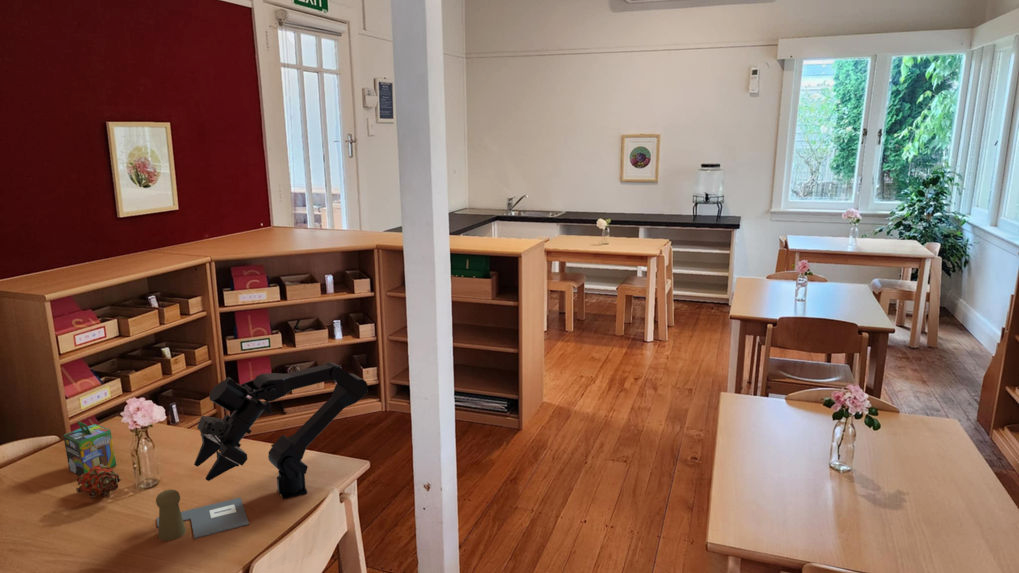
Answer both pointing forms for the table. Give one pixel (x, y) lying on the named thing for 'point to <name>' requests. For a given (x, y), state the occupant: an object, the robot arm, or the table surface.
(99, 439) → the chalk box
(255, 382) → the robot arm
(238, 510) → the label panel
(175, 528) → the olive green pawn
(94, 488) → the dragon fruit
